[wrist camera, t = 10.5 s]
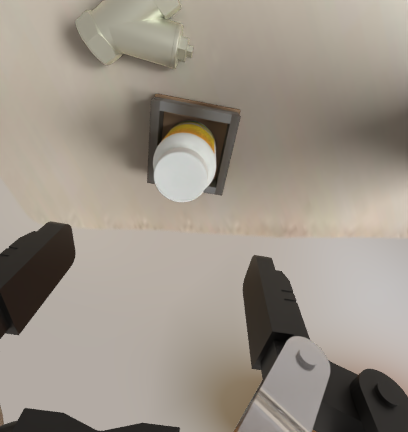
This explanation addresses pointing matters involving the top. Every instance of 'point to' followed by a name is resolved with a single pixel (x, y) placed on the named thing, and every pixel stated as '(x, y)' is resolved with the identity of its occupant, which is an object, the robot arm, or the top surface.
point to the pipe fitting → (135, 31)
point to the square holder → (203, 113)
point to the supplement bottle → (185, 161)
